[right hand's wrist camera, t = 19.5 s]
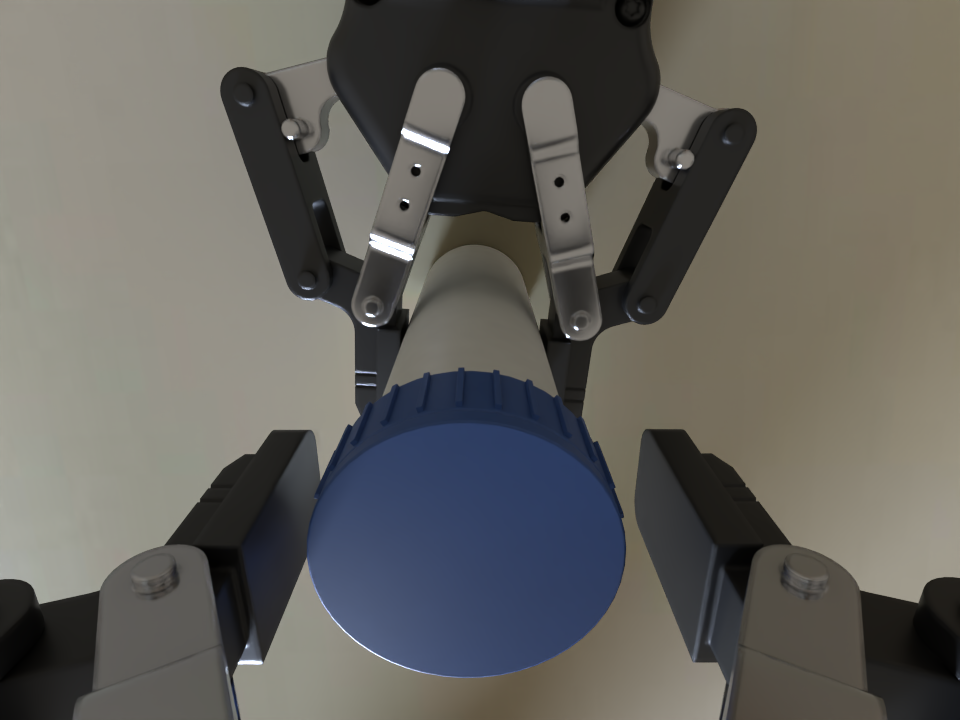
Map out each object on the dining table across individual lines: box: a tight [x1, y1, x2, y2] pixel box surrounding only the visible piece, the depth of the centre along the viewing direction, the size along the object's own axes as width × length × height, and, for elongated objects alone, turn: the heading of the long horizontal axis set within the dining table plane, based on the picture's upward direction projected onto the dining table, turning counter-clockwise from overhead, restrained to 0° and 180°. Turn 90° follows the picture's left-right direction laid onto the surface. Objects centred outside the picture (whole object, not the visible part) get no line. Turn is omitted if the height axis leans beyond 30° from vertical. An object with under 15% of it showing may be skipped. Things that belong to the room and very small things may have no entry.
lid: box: [307, 367, 626, 678], centre depth 10 cm, size 5×5×2 cm
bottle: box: [382, 245, 558, 397], centre depth 17 cm, size 4×4×15 cm
